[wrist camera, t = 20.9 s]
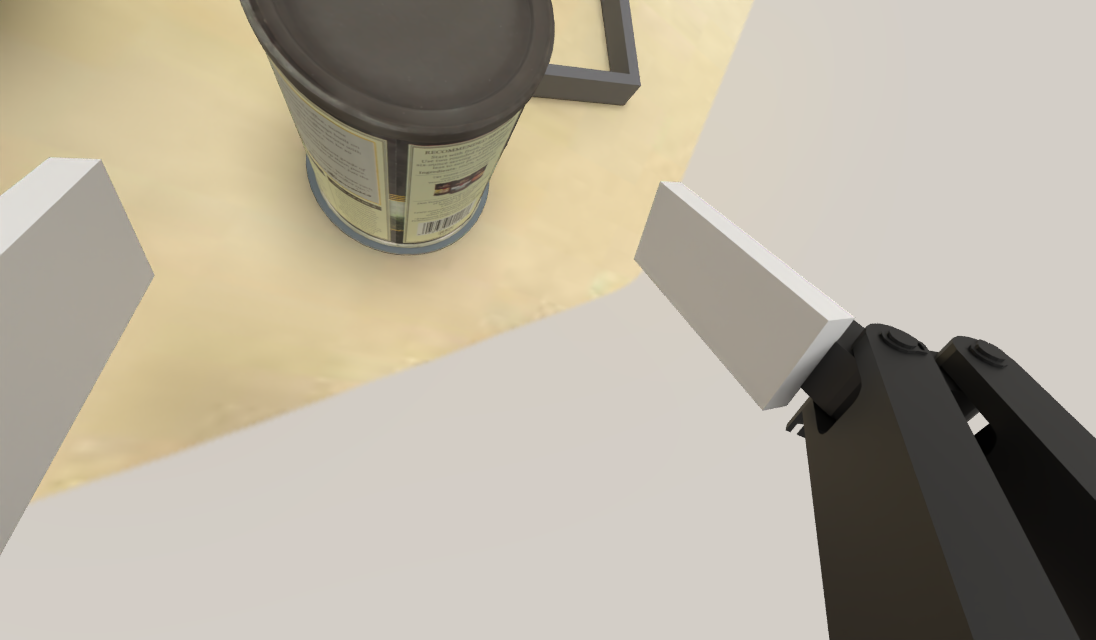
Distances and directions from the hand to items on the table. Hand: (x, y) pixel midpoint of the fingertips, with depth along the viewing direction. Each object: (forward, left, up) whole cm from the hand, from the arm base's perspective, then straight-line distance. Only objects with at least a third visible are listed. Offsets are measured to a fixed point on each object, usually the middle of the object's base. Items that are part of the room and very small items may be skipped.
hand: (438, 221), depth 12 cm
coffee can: (0, +9, -17) cm, 19 cm away
